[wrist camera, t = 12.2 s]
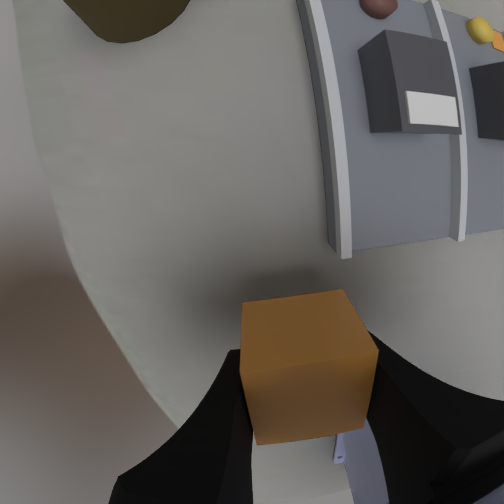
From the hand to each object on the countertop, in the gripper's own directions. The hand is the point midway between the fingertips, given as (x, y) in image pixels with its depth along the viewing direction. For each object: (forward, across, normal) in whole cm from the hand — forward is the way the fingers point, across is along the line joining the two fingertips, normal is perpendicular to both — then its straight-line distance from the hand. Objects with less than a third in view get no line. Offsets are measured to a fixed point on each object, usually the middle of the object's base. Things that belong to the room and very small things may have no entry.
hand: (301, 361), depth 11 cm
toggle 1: (+4, -6, -10) cm, 12 cm away
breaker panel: (+6, -9, -9) cm, 14 cm away
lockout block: (+2, 0, 0) cm, 2 cm away
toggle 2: (+4, -13, -10) cm, 17 cm away
